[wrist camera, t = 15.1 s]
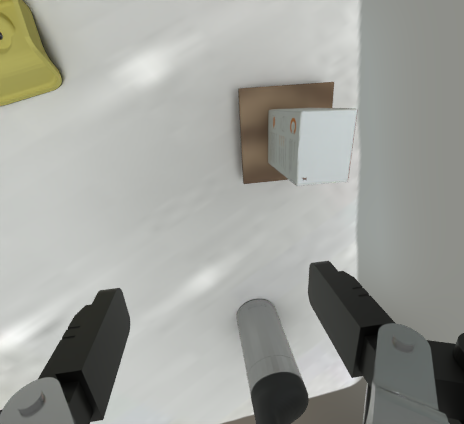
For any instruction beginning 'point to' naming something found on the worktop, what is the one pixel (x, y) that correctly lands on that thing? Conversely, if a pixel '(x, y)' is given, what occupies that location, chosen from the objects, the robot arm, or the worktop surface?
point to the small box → (311, 143)
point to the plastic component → (23, 56)
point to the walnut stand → (256, 121)
